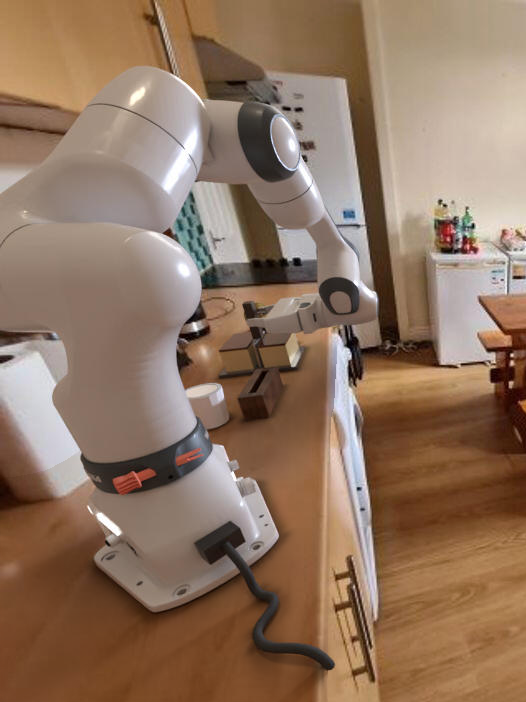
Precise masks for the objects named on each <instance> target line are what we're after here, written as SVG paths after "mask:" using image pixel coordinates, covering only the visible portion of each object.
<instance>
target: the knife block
mask: <svg viewBox="0 0 526 702" xmlns="http://www.w3.org/2000/svg"><path fill="white" fill-rule="evenodd" d="M280 373H281V372H280V371H279V370H278V367H271V368H263V369H256V370H255V372H254V373H253V375H250V377H249V379H248V380H247V382H246V384H245V386H244V387H243V389H242V390H241V391H240V393H239V395H238V396H237V398H236V399H237V403H238V405H239V407H240V410H241V413H242V416H243V418H244V421H251V420H256V419H265V418H269V417H270V416H271V415H272V412H273V411H274V409H275V405H276V403H277V402H278V399H279V397H280V396H281V393H282V390H283V388H284V384H283V381H282V377H281V374H280Z"/></svg>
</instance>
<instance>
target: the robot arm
mask: <svg viewBox="0 0 526 702" xmlns="http://www.w3.org/2000/svg"><path fill="white" fill-rule="evenodd" d="M199 182H205V183H214V184H229V185H247V187H248V189H249V191H250V192H251V194H252V195H253V197H254V198H255V200H256V202H257V203H258V204H259V206H260V207H261V209H262V211H264V213H265V214H266V215H267V216H268V217H269V218H270V220H271V221H273V222H274V224H275V225H277V226H279V227H281V228H284V229H289V230H304V229H305V230H306V231H307V233H308V235H309V236H310V237H311V239H312V240H313V242H314V243H315V247H316V248H315V252H316V253H315V254H316V264H317V267H316V269H317V272H316V273H317V275H316V276H317V292H315V293H314V292H313V293H303V294H301V296H290V297H288V296H287V297H282V298H279V300H278V301H277V302H276V303H273V304H269V305H265V307H258V309H257V314H258V315H266V314H267V316H266V317H262V318H256V317H254V318H248V319H247V320H245V322H246V325H247V326H248V328H249V327H254V326H256V327H263V328H264V327H265V329H266V332H267V333H269V334H292V333H295V334H298V333H299V334H300V333H302V332H303V333H302V334H304V335H310V334H311V335H312V334H314V333H315V332H317V331H319V330H323V329H326V328H332V327H335V326H344V327H345V326H346V327H347V326H357V325H362V324H367V323H371V322H374V321H376V320H377V319H378V317H379V313H380V312H379V311H380V307H379V305H380V304H379V303H380V302H379V296H378V294H377V292H376V291H375V290H371V289H370V288H368V287H367V286H366V284H364V282H363V280H362V279H361V273H360V253H359V250H358V249H357V247H356V246H355V245H354V244H353V242H351V241H350V240H349V239H348V238H347V237H346V236H344V234H343V233H342V232H341V231H340V229H339V228H338V226H337V224H336V222H335V221H334V219H333V217H332V215H331V214H330V211H329V210H328V208H327V207H326V205H325V203H324V201H323V198H322V195H321V193H320V190H319V187H318V186H317V183H316V181H315V179H314V177H313V175H312V173H311V170H310V169H309V167H308V166H307V164H306V162H305V160H304V159H303V156H302V155H301V145H300V141H299V138H298V135H297V133H296V130H295V128H294V126H293V124H292V123H291V122H290V120H289V119H288V118H287V117H286V116H285V115H284V114H283V113H282V112H281V111H280V110H279V109H278V108H276V107H275V106H273V105H270V104H268V103H263V102H259V101H254V100H246V101H245V102H243V101H242V102H241V101H235V100H234V101H232V100H223V99H221V100H220V99H216V100H215V99H214V100H213V99H209V98H207V99H206V98H205V99H201V97H200V96H199V95H198V94H197V93H196V91H194V89H193V88H192V87H190V85H188V84H187V82H186V81H184V80H182V79H181V78H180V77H177V76H176V75H175V74H173V73H171V72H170V71H167V70H164V69H162V68H159V67H156V66H150V65H136V66H133V67H132V66H131V67H130V68H128V69H125V70H124V71H123V72H121V73H120V74H118V75H117V76H115V77H114V78H113V79H111V80H110V81H108V82H107V83H106V84H105V85H104V86H103V87H102V88H101V89H99V91H98V92H97V93H96V94H95V95H94V96H93V97H92V98H91V100H90V101H89V102H88V103H87V104H86V106H84V108H83V109H82V111H81V112H80V114H79V115H78V117H77V118H76V120H75V121H74V122H73V124H71V126H70V128H69V129H68V131H67V132H66V133H65V134H64V135H63V137H62V138H61V139H60V141H59V143H58V144H57V145H56V146H55V148H54V149H53V150H52V152H50V154H49V155H47V157H46V158H45V159H44V160H43V161H42V162H41V163H39V165H37V166H36V167H35V168H33V169H32V170H30V171H29V172H28V173H27V174H25V176H23V177H22V178H20V179H19V180H18V181H16V182H14V183H13V184H12V185H10V186H9V187H8V188H6V189H5V190H3V191H2V192H1V193H0V331H3V332H7V333H8V332H9V333H10V332H11V333H55V334H56V335H57V336H58V338H59V339H60V340H61V342H62V345H63V347H64V350H65V351H64V352H65V356H66V363H67V364H66V365H67V373H66V375H64V376H63V377H62V378H61V379H60V380H59V381H58V382H57V383H56V385H55V386H54V388H53V390H52V394H51V400H52V405H53V407H54V409H55V410H56V411H57V414H58V415H59V416H60V418H61V420H62V421H63V424H64V425H65V427H66V428H67V430H68V432H69V433H70V435H71V437H72V438H73V440H74V442H75V443H76V445H77V447H78V449H79V450H80V452H81V453H80V455H79V456H80V458H79V459H80V462H81V464H82V468H83V470H84V473H85V474H86V475H87V476H88V477H89V479H90V480H91V482H92V484H93V485H94V486H95V488H94V490H93V492H92V493H91V495H90V496H89V497H88V500H87V501H86V505H87V508H88V510H89V512H90V513H91V514H92V515H93V517H94V519H95V520H96V522H97V524H98V525H99V527H100V529H101V530H102V531H103V533H104V535H105V538H104V543H105V545H104V546H103V547H101V548H100V549H99V550H98V551H96V553H95V554H94V556H93V561H94V563H95V565H96V567H98V568H99V569H100V570H101V571H102V572H103V573H105V574H106V575H107V576H108V577H109V578H111V579H112V580H113V581H114V582H115V583H116V584H117V585H118V586H120V587H121V588H122V589H123V590H125V592H127V593H128V594H129V595H130V596H131V597H133V598H134V599H135V600H136V601H137V602H139V603H140V605H142V606H144V608H146V609H147V610H149V611H150V612H151V613H159V612H163V611H167V610H170V609H173V608H176V607H179V606H182V605H184V604H186V603H189V602H191V601H193V600H196V599H197V598H199V597H201V596H203V595H205V594H207V593H209V592H211V591H212V590H214V589H216V588H218V587H219V586H221V585H223V584H224V583H227V582H228V581H229V580H231V579H232V578H234V577H236V576H237V575H238V574H240V575H241V576H242V578H243V580H244V582H245V584H246V586H247V588H248V590H249V592H250V593H251V595H252V596H253V597H255V598H256V599H259V600H261V601H267V602H268V606H267V607H266V609H265V610H264V612H263V613H262V614H261V615H260V617H259V618H258V619H257V621H256V623H255V624H254V626H253V629H252V631H251V632H252V633H251V638H252V641H253V643H254V645H255V646H256V647H257V649H259V650H261V651H262V652H264V653H269V654H277V655H278V654H284V655H286V654H289V655H299V656H300V655H301V656H304V657H308V658H310V659H312V660H313V661H315V662H317V663H318V664H319V665H320V666H321V667H322V668H323V669H324V670H326V671H332V670H333V669H334V668H335V666H336V663H335V661H334V660H333V658H332V657H331V656H330V655H328V654H327V653H326V652H325V651H324V650H322V649H320V648H318V647H316V646H314V645H312V644H307V643H301V642H278V641H277V642H276V641H272V640H269V639H267V638H265V636H264V633H263V630H264V628H265V626H266V625H267V624H268V622H269V621H270V619H271V618H272V617H273V615H274V614H275V612H276V611H277V608H278V606H279V602H280V601H279V596H278V595H277V593H275V592H273V591H269V590H264V589H263V588H262V587H261V586H260V585H259V584H258V582H257V580H256V578H255V575H254V573H253V571H252V569H251V568H250V566H252V565H253V564H254V563H255V562H257V561H258V560H260V559H261V558H262V557H263V556H264V555H266V553H268V551H270V550H271V548H272V547H273V546H274V545H275V544H276V543H277V541H278V540H279V538H280V535H279V532H278V529H277V527H276V524H275V521H274V519H273V517H272V515H271V512H270V510H269V508H268V505H267V503H266V501H265V499H264V496H263V494H262V492H261V489H260V486H259V485H258V483H257V481H256V480H255V478H254V479H253V478H251V476H248V477H247V476H246V477H244V476H239V477H237V476H236V474H235V472H234V471H237V470H239V469H240V465H239V462H238V461H237V459H233V460H231V461H230V460H229V457H228V455H227V454H228V453H227V451H226V449H225V446H224V445H223V444H222V445H221V444H219V443H218V444H217V443H213V442H212V440H211V438H210V435H209V432H208V429H206V427H205V426H204V425H203V424H202V422H201V420H200V418H199V417H197V416H195V415H194V412H193V410H192V407H191V405H190V402H189V400H188V397H187V394H186V392H185V390H186V388H185V386H184V384H183V381H182V378H181V376H180V371H179V367H178V362H177V361H178V360H177V347H178V339H179V336H180V332H181V330H182V328H183V327H184V324H186V322H187V321H189V319H190V318H191V317H193V315H194V314H195V312H196V311H197V309H198V307H199V305H200V302H201V297H202V290H203V289H202V288H203V287H202V279H201V275H200V271H199V268H198V267H197V265H196V263H195V261H194V259H193V258H192V256H191V255H190V253H188V251H187V250H186V249H185V248H184V246H182V245H181V244H180V243H179V242H178V241H176V240H175V239H173V238H171V236H168V235H166V234H163V233H165V232H166V231H167V230H169V229H170V228H171V227H172V226H173V225H174V224H175V222H176V221H177V218H178V216H179V214H180V213H181V210H182V208H183V206H184V204H185V202H186V200H187V198H188V196H189V194H190V192H191V190H192V188H193V186H194V184H195V183H199ZM267 333H266V334H267Z"/></svg>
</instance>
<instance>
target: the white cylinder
mask: <svg viewBox="0 0 526 702" xmlns="http://www.w3.org/2000/svg"><path fill="white" fill-rule="evenodd" d="M185 392H186V394H187V397H188V400H189V402H190V405H191V407H192V410H193V412H194V415H195V416H197V417H199V418H200V420H201V422H202V424H203V425H204V426H205V427H206V429H207V430H212V429H216V428H218V427H221V426H223V425H224V424H227V422H228V421H229V420H230V414H229V410H228V407H227V402H226V398H225V395H224V389H223V386H222V385H221V384H220V383H216V382H207V383H206V382H205V383H200V384H197V385H194V386H191V387H188V388H185Z"/></svg>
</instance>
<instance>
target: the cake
mask: <svg viewBox="0 0 526 702" xmlns="http://www.w3.org/2000/svg"><path fill="white" fill-rule="evenodd" d="M265 334H266V336H265V337H264V338H263V340H262V341H261V342H260V344H259V345H258V348H259V352H260V355H261V358H262V361H263V365H262V367H259V364H258V361H257V358H256V355H255V352H254V349H253V346H252V344H253V343H254V341H255V340H256V339H253V337H252V334H251V331H248V332H238V333H237V332H236V333H233V334H232V335H231V336H230V337H229V338H228V339H227V341H225V343H223V345H222V346H221V347H219V349H218V353H219V356H220V358H221V361H222V365H223V367H224V368H223V369H222V370H221V372H220V373H219V374H218V376H217V377H218V378H219V379H228V378H236V377H245V376H252V375H253V373H254V372H255V370H256V369H263V368H271V367H278V370H279V372H287V371H296V370H297V369H298V367H299V364H300V362H301V360H302V357H303V356H304V353H305V351H306V345H299V343H298V338H297V335H295V334H296V333H292V334H269V333H265ZM296 338H297V339H296Z"/></svg>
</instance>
